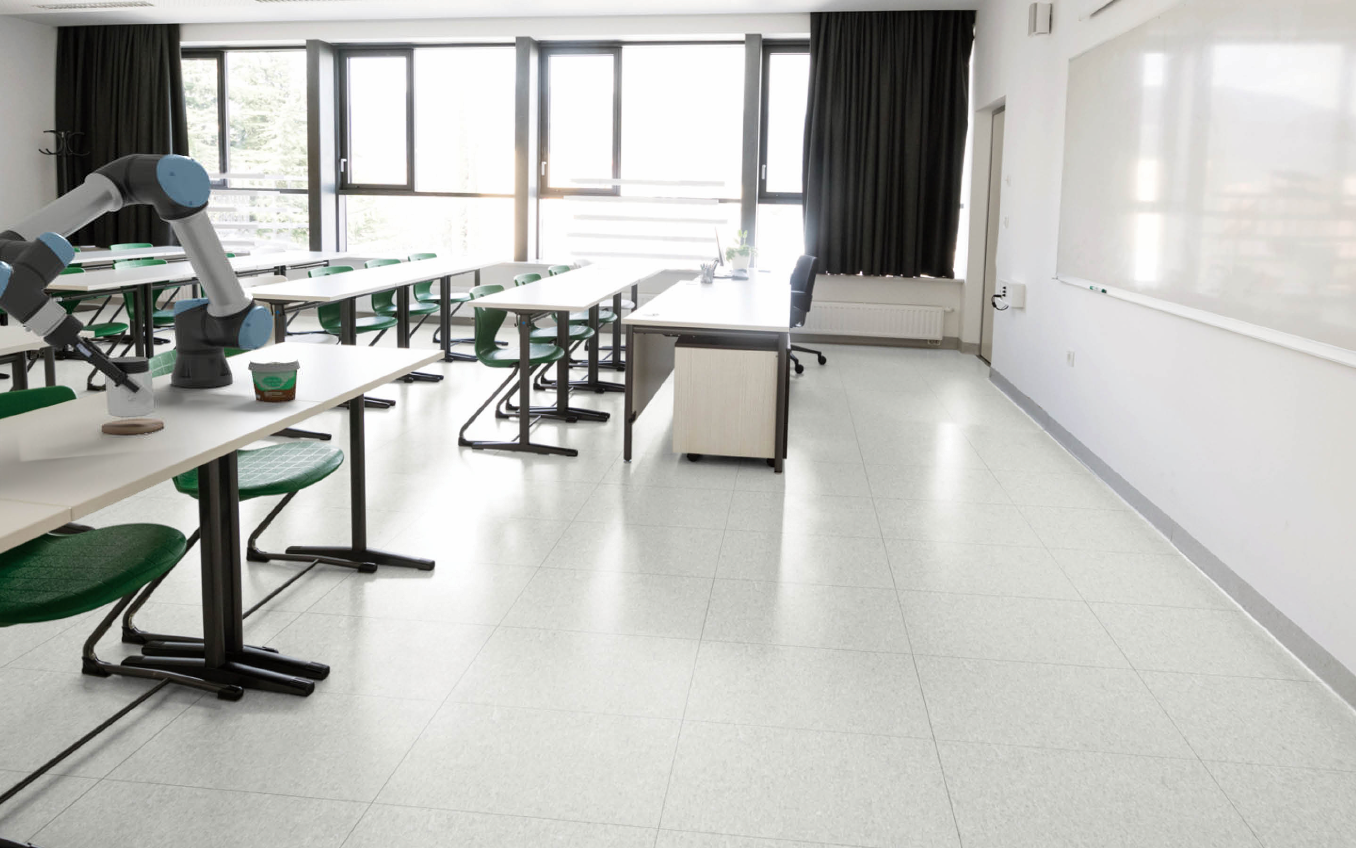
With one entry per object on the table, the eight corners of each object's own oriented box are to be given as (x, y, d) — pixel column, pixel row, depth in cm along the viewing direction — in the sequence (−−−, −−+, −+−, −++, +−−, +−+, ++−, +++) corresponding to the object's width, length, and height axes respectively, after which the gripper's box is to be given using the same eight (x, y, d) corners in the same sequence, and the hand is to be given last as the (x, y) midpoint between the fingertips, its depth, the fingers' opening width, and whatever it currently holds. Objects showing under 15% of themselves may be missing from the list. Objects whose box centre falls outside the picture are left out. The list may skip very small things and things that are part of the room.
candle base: (100, 425, 223) (99, 421, 223) (160, 421, 230) (160, 416, 230) (103, 437, 214) (103, 432, 213) (167, 432, 220) (166, 427, 220)
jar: (109, 418, 215) (105, 363, 213) (106, 411, 222) (102, 357, 219) (156, 415, 220) (152, 361, 218) (152, 408, 227) (148, 355, 224)
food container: (252, 404, 251) (249, 364, 248) (249, 400, 256) (247, 361, 254) (304, 402, 256) (302, 363, 254) (301, 397, 262) (299, 359, 259)
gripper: (40, 332, 217) (130, 400, 229) (42, 345, 201) (139, 418, 213) (66, 307, 219) (155, 376, 231) (70, 317, 202) (166, 392, 214)
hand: (147, 396), depth 222 cm, fingers closed on jar, 7 cm apart
